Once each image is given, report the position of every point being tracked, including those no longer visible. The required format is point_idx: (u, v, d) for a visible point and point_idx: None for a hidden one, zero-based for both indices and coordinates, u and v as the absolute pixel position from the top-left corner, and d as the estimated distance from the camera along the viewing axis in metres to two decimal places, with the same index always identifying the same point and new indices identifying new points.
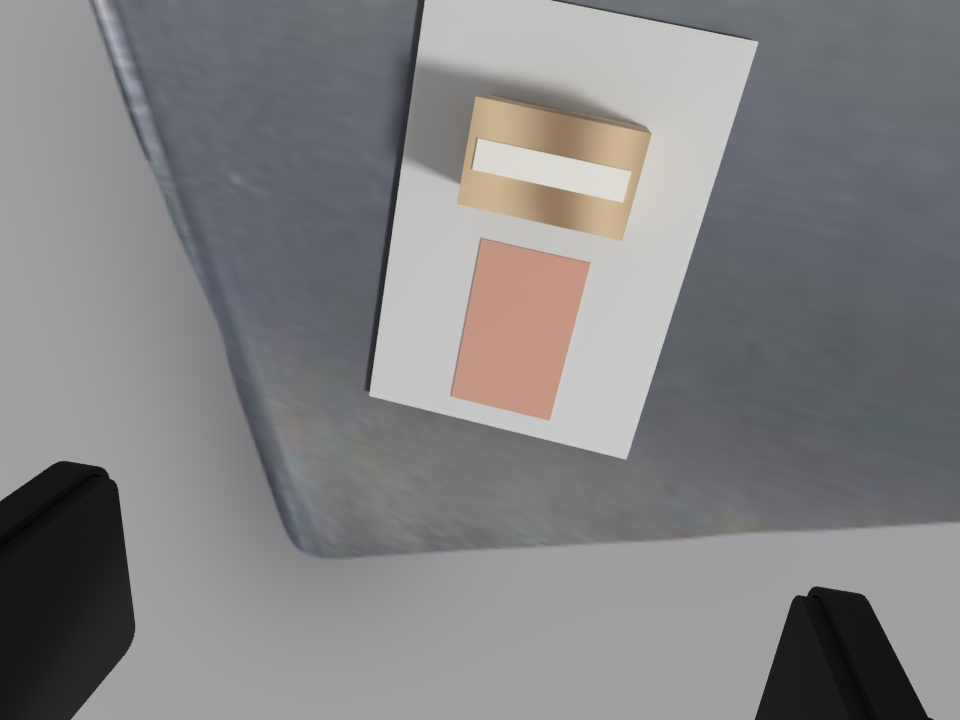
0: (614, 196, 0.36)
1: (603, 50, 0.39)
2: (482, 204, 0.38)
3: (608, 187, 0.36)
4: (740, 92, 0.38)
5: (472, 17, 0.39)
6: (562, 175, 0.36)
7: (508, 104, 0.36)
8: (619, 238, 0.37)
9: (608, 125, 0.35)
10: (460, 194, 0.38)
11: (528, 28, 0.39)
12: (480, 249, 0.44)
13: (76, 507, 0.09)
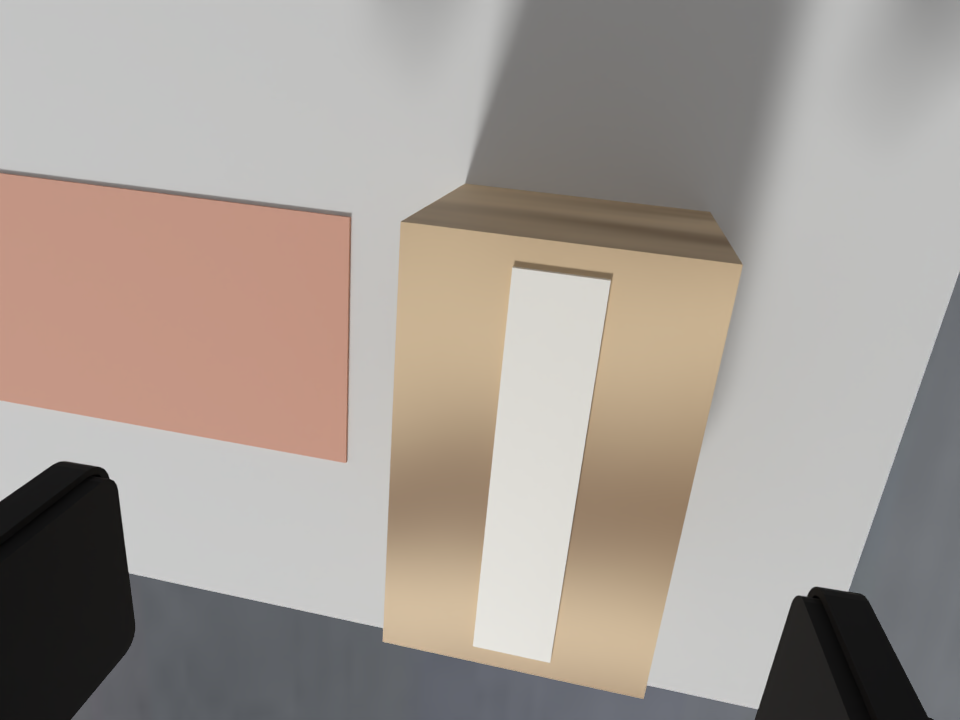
0: (485, 630, 0.14)
1: (804, 465, 0.17)
2: (412, 302, 0.12)
3: (504, 614, 0.14)
4: (710, 696, 0.20)
5: (914, 148, 0.14)
6: (523, 516, 0.13)
7: (716, 366, 0.12)
8: (387, 635, 0.15)
9: (660, 612, 0.14)
10: (431, 231, 0.12)
11: (870, 297, 0.16)
12: (323, 216, 0.17)
13: (76, 507, 0.09)
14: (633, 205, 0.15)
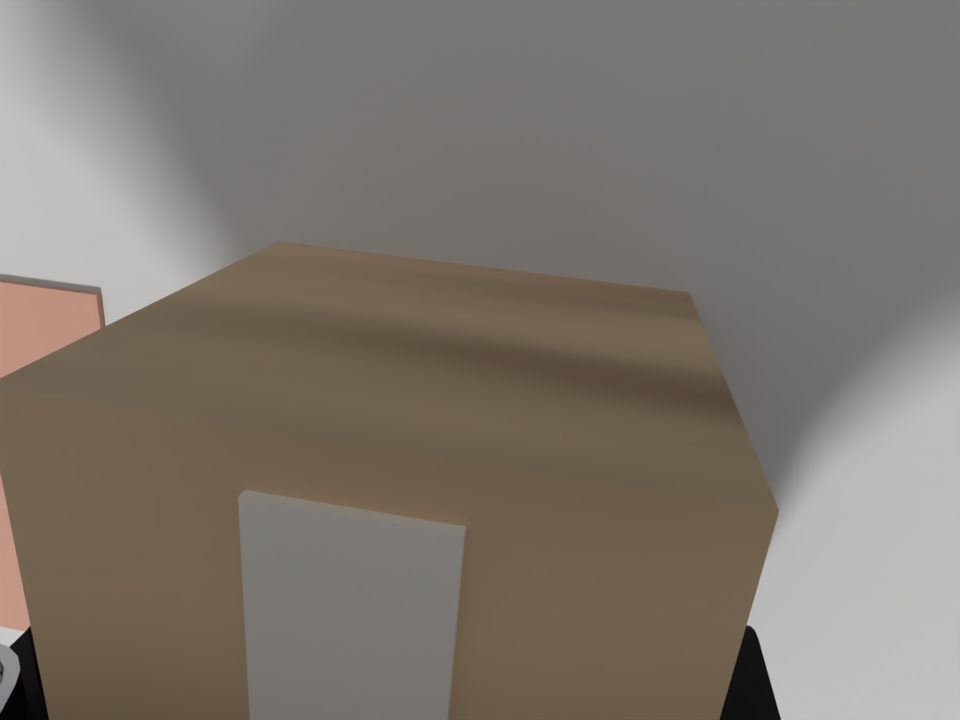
0: None
1: (841, 679, 0.11)
2: (46, 549, 0.06)
3: None
4: None
5: None
6: None
7: (713, 712, 0.05)
8: None
9: None
10: (54, 409, 0.05)
11: (959, 434, 0.09)
12: (55, 292, 0.10)
13: None
14: (557, 283, 0.09)
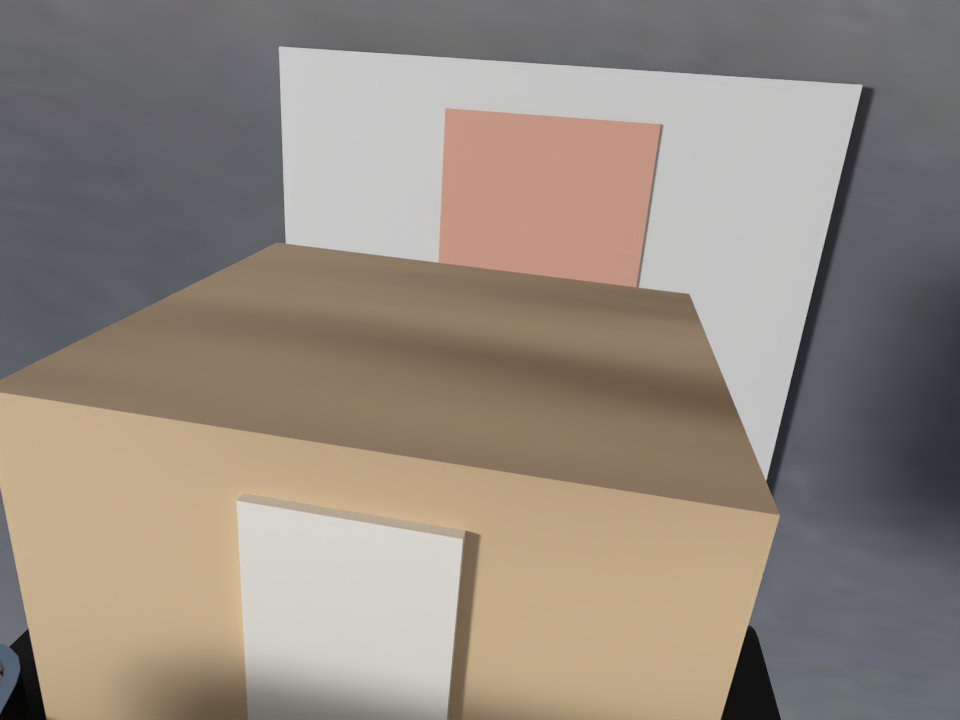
0: None
1: None
2: (44, 553, 0.06)
3: None
4: None
5: None
6: None
7: (713, 716, 0.05)
8: None
9: None
10: (52, 413, 0.05)
11: None
12: None
13: None
14: (556, 285, 0.09)
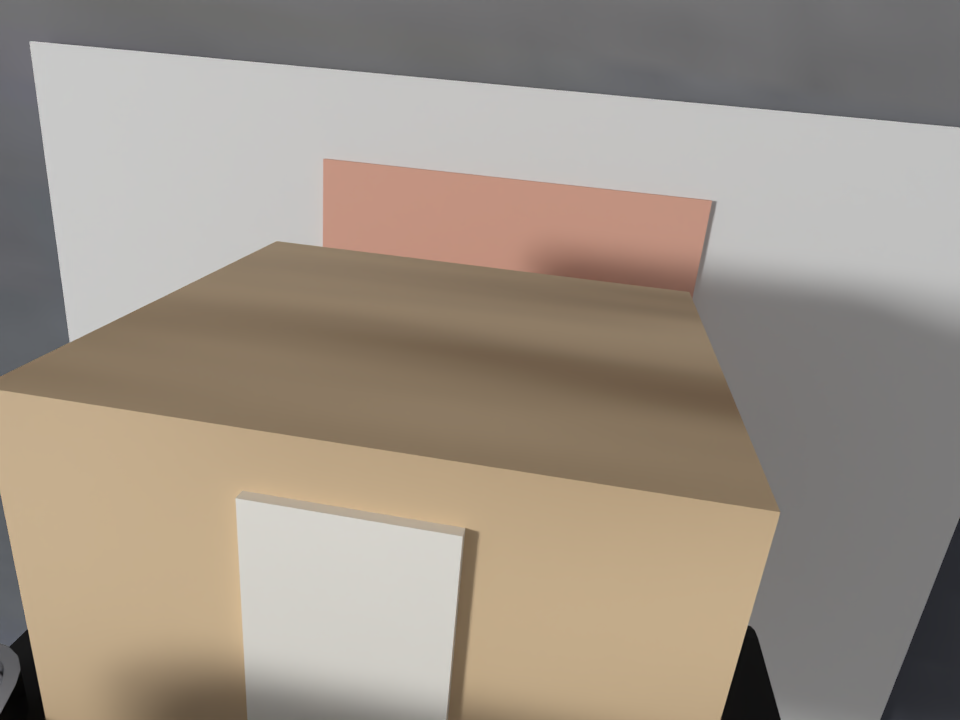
0: None
1: None
2: (43, 551, 0.06)
3: None
4: None
5: None
6: None
7: (714, 714, 0.05)
8: None
9: None
10: (51, 410, 0.05)
11: None
12: None
13: None
14: (557, 283, 0.09)
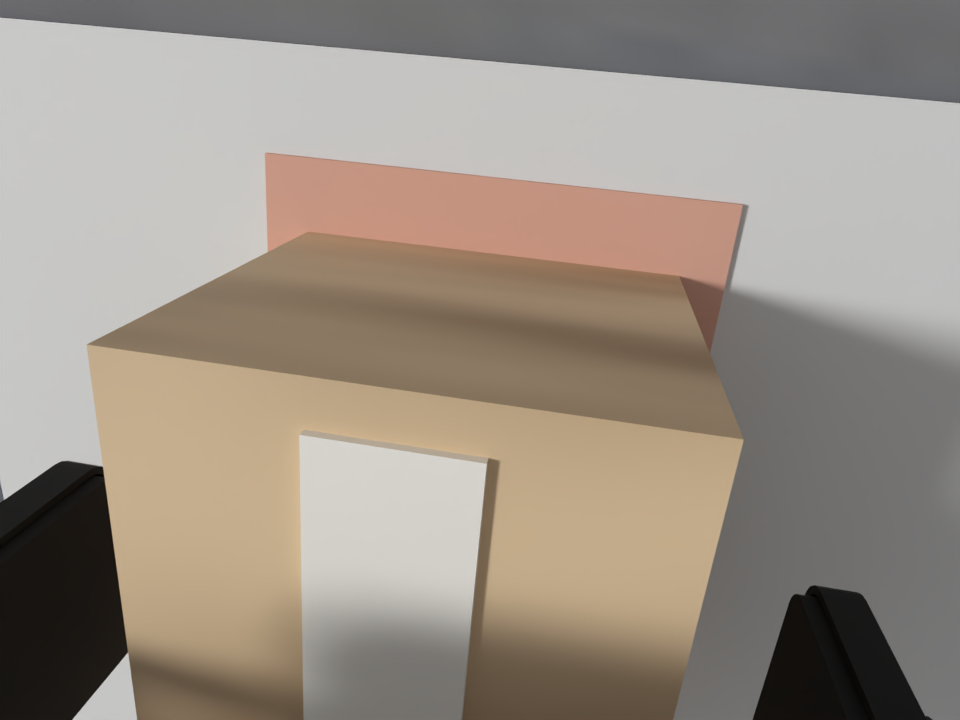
0: None
1: None
2: (132, 485, 0.07)
3: None
4: None
5: None
6: None
7: (693, 614, 0.06)
8: None
9: None
10: (146, 364, 0.06)
11: None
12: None
13: (79, 506, 0.09)
14: (560, 268, 0.10)
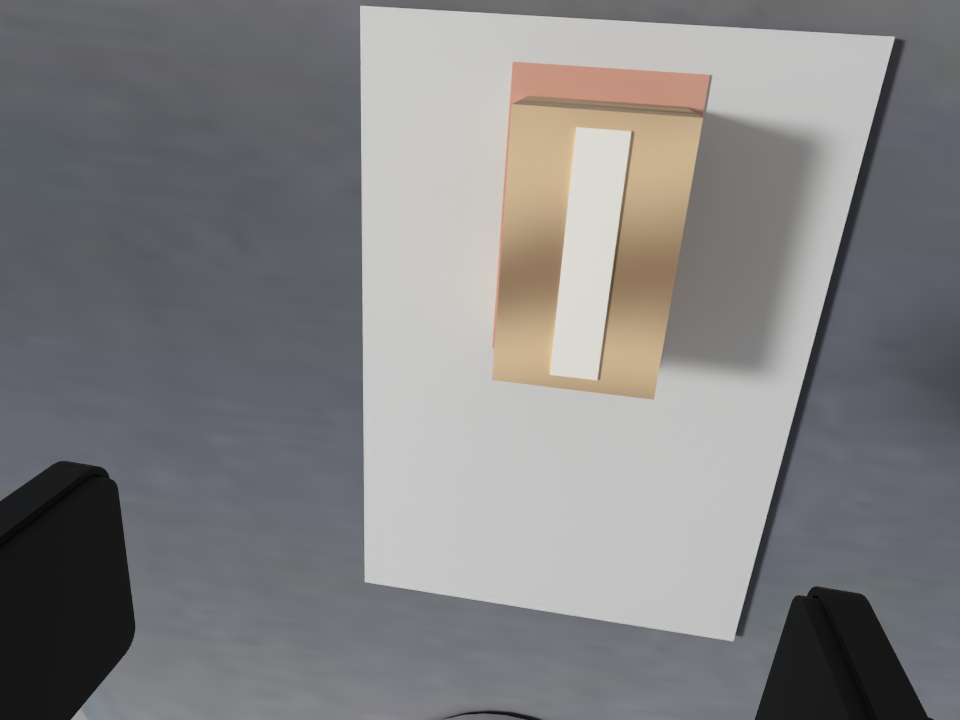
0: (557, 362, 0.24)
1: (521, 576, 0.34)
2: (517, 152, 0.21)
3: (569, 351, 0.24)
4: (366, 541, 0.35)
5: (679, 606, 0.33)
6: (581, 282, 0.23)
7: (690, 179, 0.21)
8: (495, 375, 0.24)
9: (662, 339, 0.23)
10: (529, 109, 0.21)
11: (610, 595, 0.34)
12: None
13: (76, 507, 0.09)
14: (637, 103, 0.25)
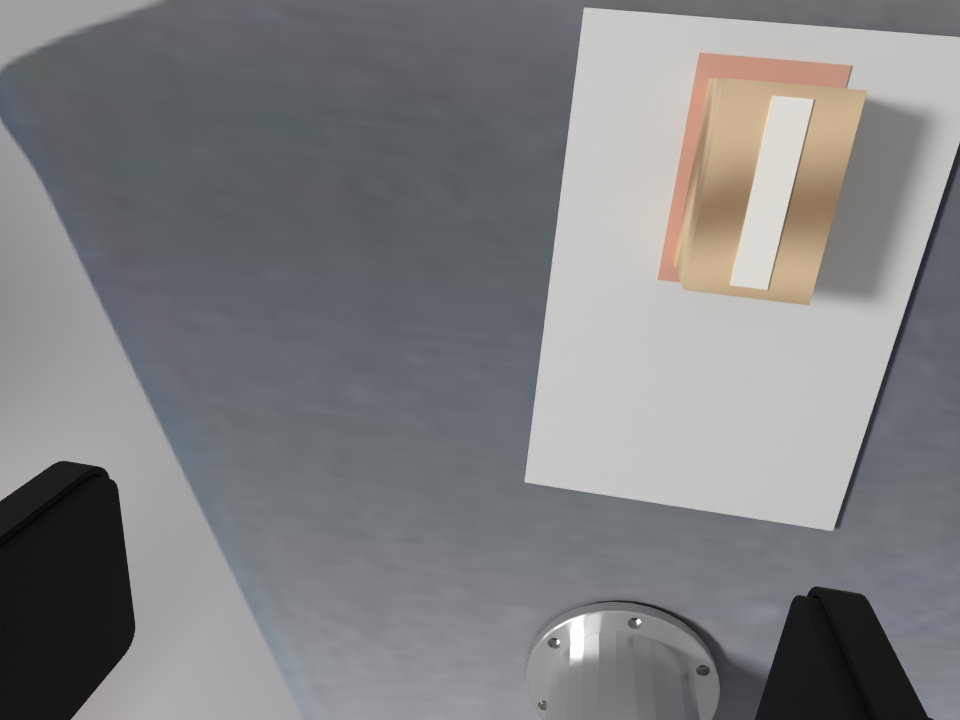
0: (737, 275, 0.32)
1: (659, 475, 0.42)
2: (725, 114, 0.29)
3: (747, 267, 0.31)
4: (531, 445, 0.42)
5: (790, 500, 0.41)
6: (763, 213, 0.30)
7: (853, 135, 0.29)
8: (686, 286, 0.32)
9: (820, 257, 0.31)
10: (738, 82, 0.29)
11: (733, 491, 0.41)
12: None
13: (76, 507, 0.09)
14: None
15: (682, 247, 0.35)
